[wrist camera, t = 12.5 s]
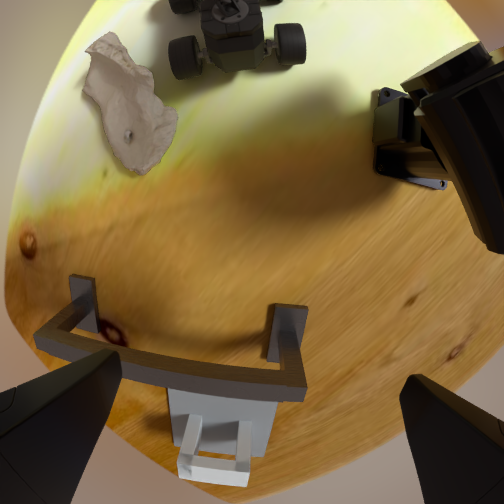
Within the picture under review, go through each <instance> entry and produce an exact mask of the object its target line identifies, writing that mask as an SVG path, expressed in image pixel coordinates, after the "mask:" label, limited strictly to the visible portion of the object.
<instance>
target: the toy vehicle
mask: <svg viewBox="0 0 504 504" xmlns="http://www.w3.org/2000/svg"><path fill="white" fill-rule="evenodd" d="M169 3H170V6H171V9H172V11H173V12H174V13H175V14H181V13H185V12H189V11H193V10H196V9H197V0H169ZM199 7H200V13H201V29H202V31H203V34H204V38H205V43H206V47H207V48H203V51H201V52H200V48H199V44H198V41H197V39H196V37H195V36H187V37H182V38H178V39H175V40H172V41H170V43H169V47H168V54H169V61H170V65H171V69H172V72H173V74H174V76H175V78H176V79H177V80H183V79H188V78H193V77H197V76H201V75H202V58H201V57H204V58H205V60H206V62H207V63H208V64H209V63H212V64H214V65H215V66H216V67H217V68H219V69H221V70H222V71H224V72H232V71H240V70H247V69H255V68H256V67H257V66H258V65H259V64H260V63H261V62H262V61H263V60H264V57H267V56H270V55H271V52H272V48H275V49H276V54H277V59H278V62H279V64H280V65H296V64H304V63H305V60H306V40H305V35H304V31H303V28H302V26H301V25H300V24H299V23H284V24H276V25H275V26H274V41H275V42H271V40H270V39H268V40H266V43H265V42H264V31H263V18H262V12H261V10H260V2H259V0H202V2H201V3H200V4H199Z"/></svg>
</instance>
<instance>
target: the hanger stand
mask: <svg viewBox="0 0 504 504" xmlns="http://www.w3.org/2000/svg"><path fill="white" fill-rule="evenodd" d="M69 281H70V289H71V297H72V302H71V303H70V304H69V305H68V306H66V307H65V308H64V309H63V310H61V311H60V312H59V313H58V314H56V315H55V316H54V317H53V318H52V319H50V320H49V321H48V322H47V323H46V324H44V325H43V326H42V327H41V328H40V329H38V330H37V331H36V332H35V333H34V334H33V336H34V340H35V343H36V347H37V349H40V350H42V351H45V352H47V353H49V354H50V355H53V356H55V357H58V358H61V359H63V360H66V361H69V362H75V361H77V360H79V359H81V358H84V357H86V356H88V355H90V354H93V353H95V352H97V351H99V350H102V349H104V348H110V349H114V350H117V351H118V352H119V355H120V361H121V367H122V378H125V379H129V380H133V381H137V382H142V383H146V384H150V385H155V386H160V387H164V388H169V389H175V390H180V391H186V392H191V393H198V394H204V395H211V396H218V397H226V398H235V399H244V400H255V401H269V402H283V401H290V402H303V401H304V398H305V394H306V391H307V388H308V387H307V382H306V377H305V372H304V368H303V363H302V358H301V353H300V346H301V342H302V337H303V333H304V328H305V324H306V319H307V315H308V307H307V306H300V305H289V304H279V303H275V309H274V316H273V322H272V328H271V334H270V340H269V346H268V352H267V362H275V363H280V370H271V369H259V368H248V367H239V366H230V365H222V364H214V363H207V362H200V361H194V360H188V359H182V358H176V357H170V356H165V355H159V354H154V353H149V352H145V351H140V350H135V349H131V348H126V347H122V346H118V345H114V344H110V343H106V342H102V341H98V340H94V339H91V338H87V337H84V336H80V335H77V334H73V333H70V331H71V330H72V329H73V328H74V327H77V328H79V329H83V330H86V331H90V332H94V333H99V332H100V331H101V327H100V320H99V313H98V305H97V296H96V286H95V278H91V277H86V276H81V275H75V274H72V275H70V276H69Z"/></svg>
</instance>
